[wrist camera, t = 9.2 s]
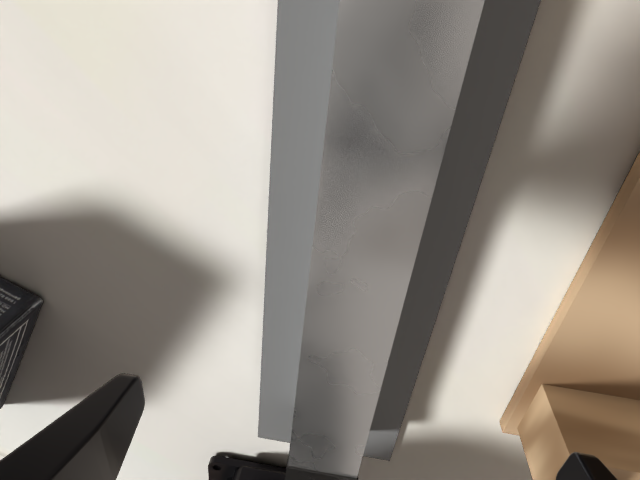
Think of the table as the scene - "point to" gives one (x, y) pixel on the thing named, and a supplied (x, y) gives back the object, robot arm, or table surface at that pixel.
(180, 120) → the table surface
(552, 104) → the table surface
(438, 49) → the rail
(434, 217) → the mat
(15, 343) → the small box
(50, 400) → the table surface
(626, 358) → the cradle stand
